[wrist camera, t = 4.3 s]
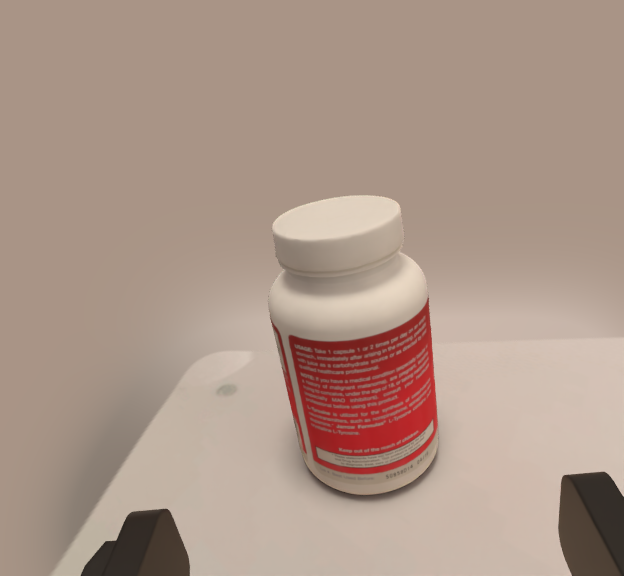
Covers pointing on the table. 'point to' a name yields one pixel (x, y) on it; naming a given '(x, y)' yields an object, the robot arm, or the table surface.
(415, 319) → the pill bottle
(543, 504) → the table surface
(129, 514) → the robot arm
